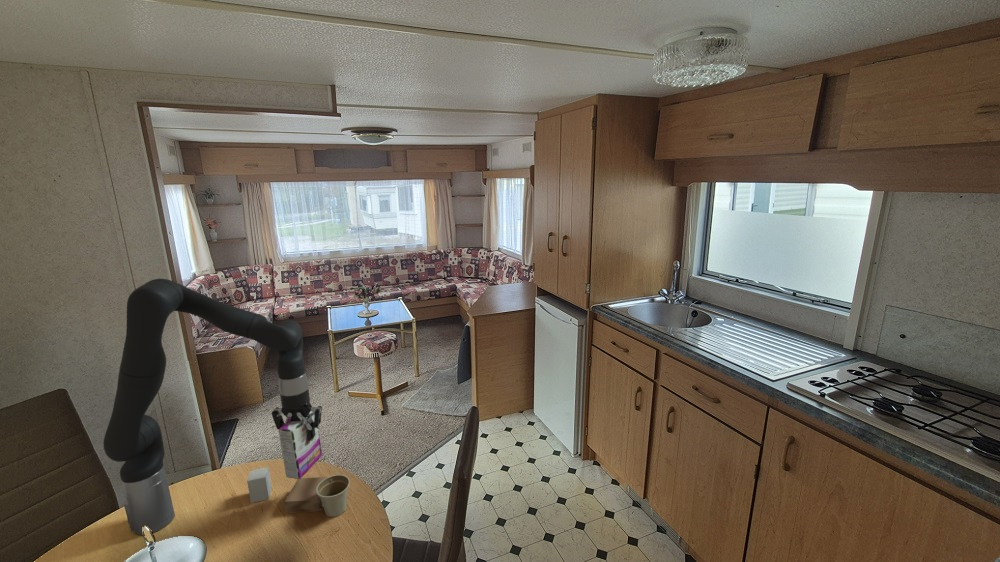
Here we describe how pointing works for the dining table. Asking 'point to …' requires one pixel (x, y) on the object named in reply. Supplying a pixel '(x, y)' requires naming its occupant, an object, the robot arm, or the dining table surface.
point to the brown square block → (304, 496)
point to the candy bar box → (299, 448)
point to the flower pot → (334, 494)
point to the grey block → (259, 484)
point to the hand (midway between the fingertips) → (300, 439)
